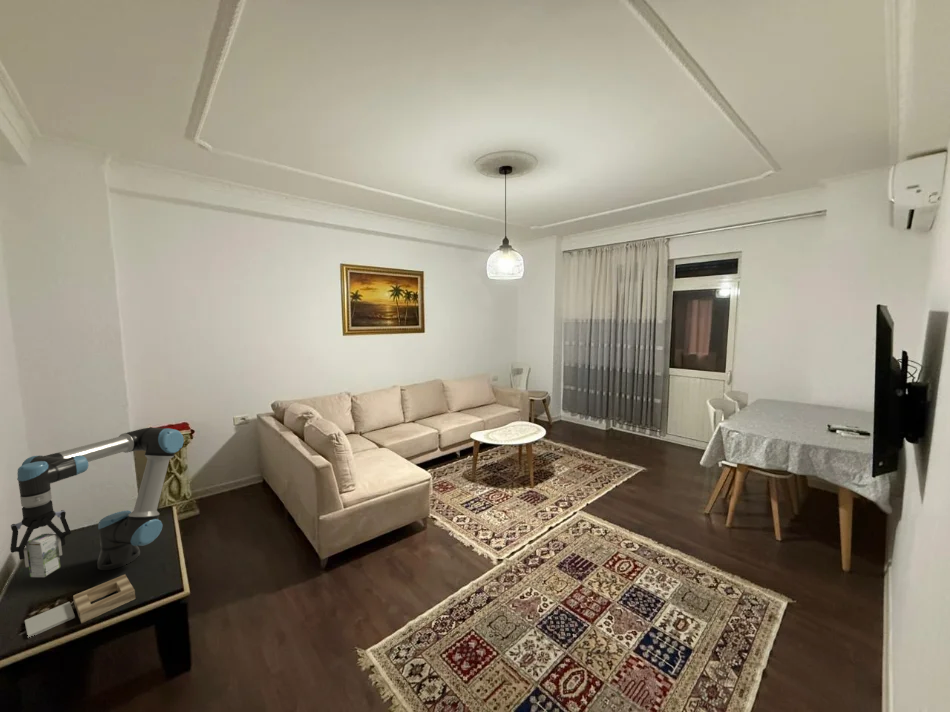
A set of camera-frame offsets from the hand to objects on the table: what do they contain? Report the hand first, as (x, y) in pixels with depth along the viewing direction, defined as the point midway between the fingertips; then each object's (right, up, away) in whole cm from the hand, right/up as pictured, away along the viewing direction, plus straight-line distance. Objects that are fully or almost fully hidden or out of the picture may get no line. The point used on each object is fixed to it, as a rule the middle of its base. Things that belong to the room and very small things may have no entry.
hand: (44, 559), depth 145 cm
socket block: (+12, -24, +12) cm, 29 cm away
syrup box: (0, -6, +1) cm, 6 cm away
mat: (-1, -25, +3) cm, 25 cm away
